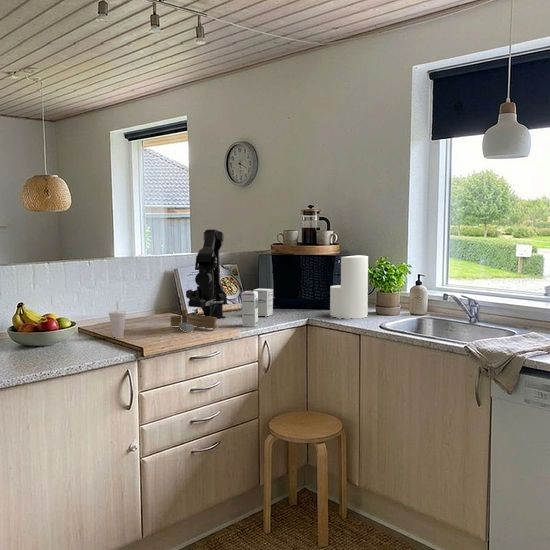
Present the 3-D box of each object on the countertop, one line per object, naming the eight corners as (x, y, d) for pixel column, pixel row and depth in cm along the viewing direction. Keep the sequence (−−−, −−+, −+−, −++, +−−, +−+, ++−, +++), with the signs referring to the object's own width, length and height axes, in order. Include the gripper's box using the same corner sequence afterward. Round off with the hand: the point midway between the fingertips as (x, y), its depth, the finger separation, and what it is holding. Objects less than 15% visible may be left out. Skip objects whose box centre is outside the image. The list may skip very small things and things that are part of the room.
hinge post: (170, 327, 233) (170, 310, 233) (186, 326, 237) (186, 309, 236) (172, 328, 232) (171, 311, 231) (188, 326, 235) (188, 310, 234)
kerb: (179, 329, 229) (179, 322, 229) (186, 328, 230) (186, 322, 230) (186, 333, 221) (186, 325, 221) (194, 332, 222) (193, 325, 222)
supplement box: (252, 316, 262) (252, 289, 261) (259, 314, 269) (259, 288, 268) (267, 317, 259) (267, 290, 258) (273, 315, 266) (273, 288, 265)
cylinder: (373, 315, 265) (374, 255, 262) (358, 320, 250) (358, 257, 248) (340, 312, 274) (340, 255, 272) (323, 317, 259) (323, 256, 257)
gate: (190, 325, 235) (190, 314, 234) (216, 328, 227) (216, 317, 227) (187, 326, 233) (187, 314, 233) (214, 329, 226) (213, 317, 225)
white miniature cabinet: (255, 327, 234) (255, 292, 233) (241, 326, 235) (241, 292, 234) (258, 324, 240) (258, 290, 239) (245, 324, 241) (245, 290, 240)
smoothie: (111, 339, 208) (110, 302, 207) (107, 336, 214) (106, 300, 212) (128, 338, 211) (127, 301, 210) (124, 335, 217) (123, 299, 215)
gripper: (203, 279, 241) (204, 315, 243) (176, 285, 225) (178, 323, 227) (225, 280, 236) (226, 317, 238) (199, 286, 220) (201, 325, 222)
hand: (207, 320), depth 231 cm, fingers closed
